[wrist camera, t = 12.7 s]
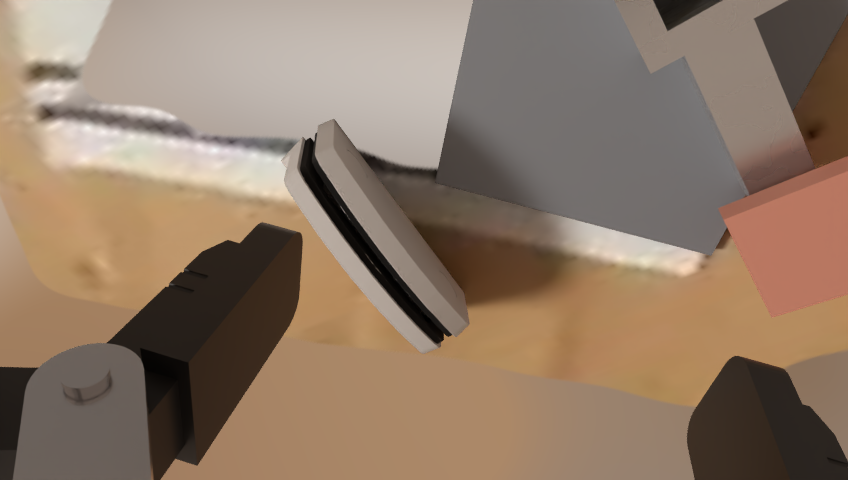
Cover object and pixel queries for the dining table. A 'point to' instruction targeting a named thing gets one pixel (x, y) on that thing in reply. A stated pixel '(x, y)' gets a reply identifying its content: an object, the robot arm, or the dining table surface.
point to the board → (605, 116)
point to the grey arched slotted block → (374, 238)
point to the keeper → (795, 238)
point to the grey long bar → (727, 80)
